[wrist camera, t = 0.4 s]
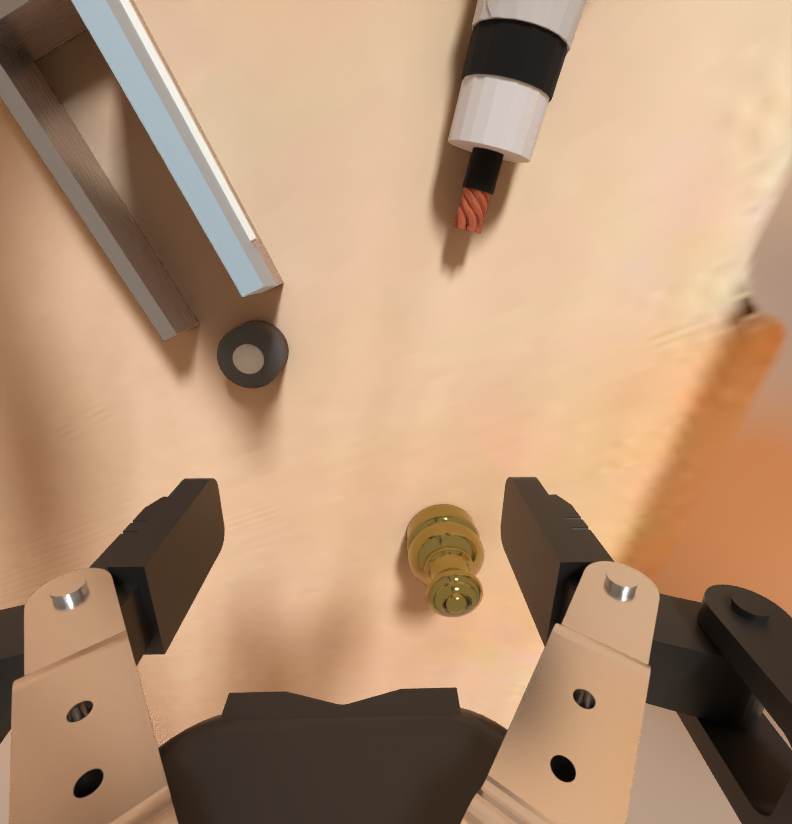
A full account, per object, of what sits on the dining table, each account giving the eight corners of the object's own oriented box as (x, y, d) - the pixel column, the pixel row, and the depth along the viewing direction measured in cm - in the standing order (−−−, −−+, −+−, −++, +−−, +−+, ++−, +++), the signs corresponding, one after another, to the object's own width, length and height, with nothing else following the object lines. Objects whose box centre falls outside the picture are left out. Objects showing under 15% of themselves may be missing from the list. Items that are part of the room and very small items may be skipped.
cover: (-76, -255, 14) (-32, -273, 15) (80, -36, 25) (106, -47, 25) (242, 297, 21) (271, 283, 21) (262, 291, 31) (282, 282, 32)
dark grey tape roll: (219, 335, 37) (203, 344, 34) (270, 310, 37) (258, 317, 33) (250, 384, 39) (237, 398, 35) (299, 362, 38) (291, 373, 35)
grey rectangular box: (7, 50, 29) (-52, 19, 25) (122, -21, 28) (78, -66, 24) (187, 330, 37) (163, 340, 33) (283, 282, 36) (271, 287, 32)
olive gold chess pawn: (481, 550, 47) (507, 626, 37) (415, 566, 47) (425, 646, 38) (467, 494, 44) (491, 561, 35) (397, 512, 44) (402, 583, 35)
